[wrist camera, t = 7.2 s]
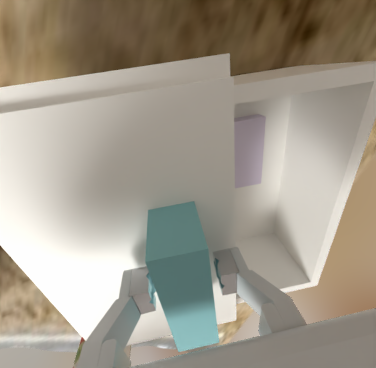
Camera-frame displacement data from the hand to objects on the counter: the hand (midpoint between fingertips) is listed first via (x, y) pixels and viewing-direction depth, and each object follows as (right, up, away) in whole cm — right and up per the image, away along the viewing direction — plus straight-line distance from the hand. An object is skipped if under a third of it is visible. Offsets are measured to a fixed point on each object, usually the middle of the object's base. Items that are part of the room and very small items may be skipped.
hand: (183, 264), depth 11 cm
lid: (-3, +1, +3) cm, 4 cm away
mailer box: (+5, +5, +8) cm, 11 cm away
